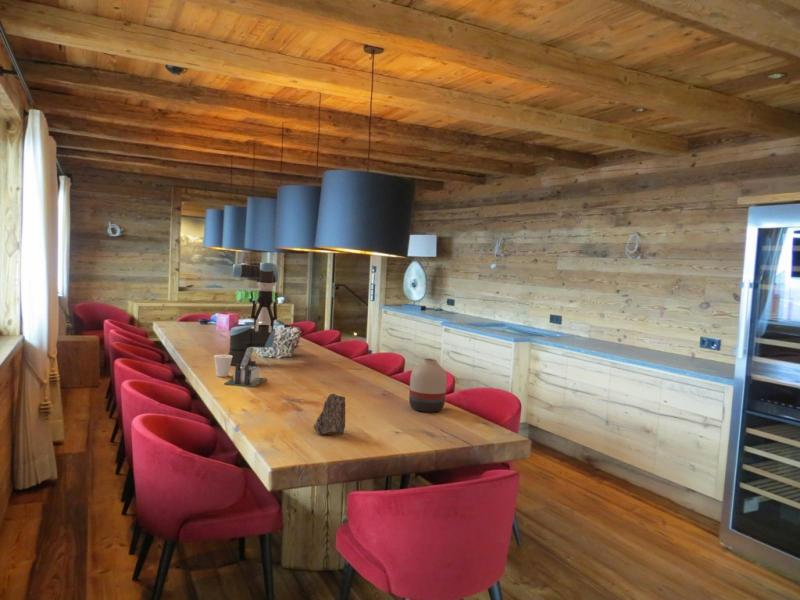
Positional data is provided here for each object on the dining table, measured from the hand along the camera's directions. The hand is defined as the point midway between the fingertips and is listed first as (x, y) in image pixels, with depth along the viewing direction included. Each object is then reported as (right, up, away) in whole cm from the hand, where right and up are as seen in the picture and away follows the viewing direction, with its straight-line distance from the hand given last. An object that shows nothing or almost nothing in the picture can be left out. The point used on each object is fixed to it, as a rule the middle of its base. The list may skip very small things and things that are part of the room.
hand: (263, 331), depth 317 cm
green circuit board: (-5, -26, -16) cm, 31 cm away
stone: (+48, -34, -96) cm, 113 cm away
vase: (+88, -34, -49) cm, 106 cm away
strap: (-4, -14, -19) cm, 23 cm away
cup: (-21, -24, -5) cm, 33 cm away
